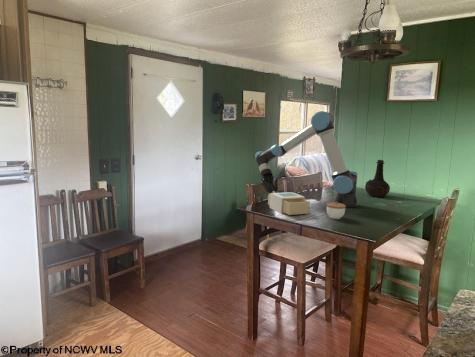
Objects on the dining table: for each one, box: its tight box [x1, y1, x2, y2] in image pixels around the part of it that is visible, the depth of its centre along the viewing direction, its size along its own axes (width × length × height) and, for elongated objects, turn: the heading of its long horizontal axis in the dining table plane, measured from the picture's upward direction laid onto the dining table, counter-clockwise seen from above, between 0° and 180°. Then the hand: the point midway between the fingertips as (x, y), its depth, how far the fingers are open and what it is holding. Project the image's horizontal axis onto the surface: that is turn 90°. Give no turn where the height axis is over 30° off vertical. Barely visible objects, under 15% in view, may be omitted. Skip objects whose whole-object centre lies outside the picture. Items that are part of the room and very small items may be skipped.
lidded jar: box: [326, 202, 347, 220], centre depth 210 cm, size 11×11×9 cm
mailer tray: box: [267, 193, 310, 216], centre depth 222 cm, size 26×14×7 cm, turn 23°
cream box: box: [269, 191, 306, 214], centre depth 223 cm, size 14×16×10 cm
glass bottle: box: [364, 159, 391, 198], centre depth 277 cm, size 18×18×28 cm
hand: (275, 200), depth 235 cm, fingers closed
